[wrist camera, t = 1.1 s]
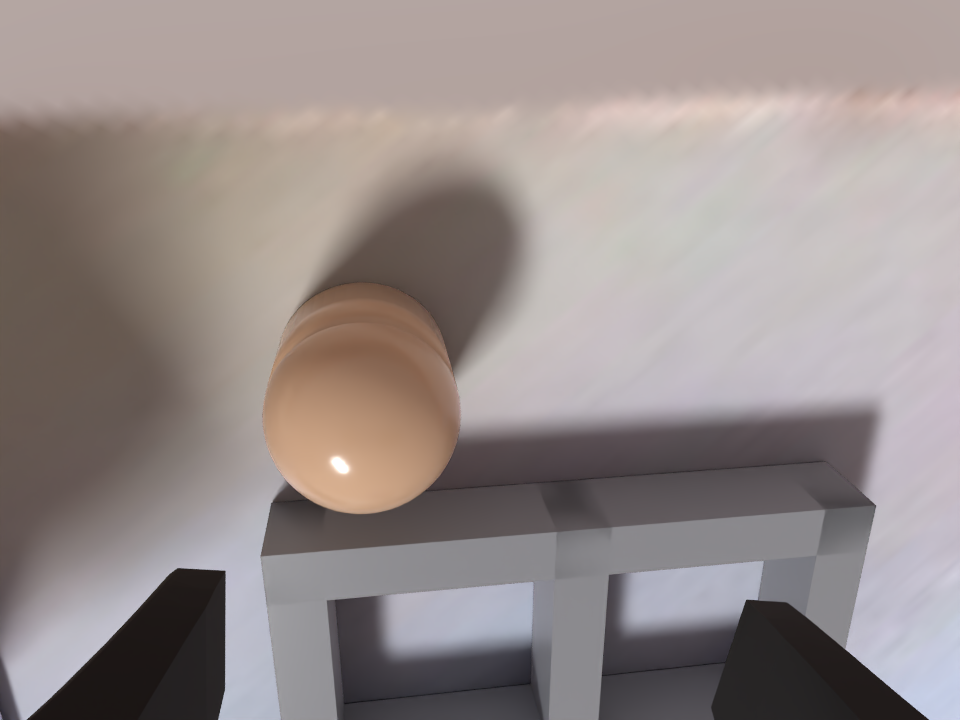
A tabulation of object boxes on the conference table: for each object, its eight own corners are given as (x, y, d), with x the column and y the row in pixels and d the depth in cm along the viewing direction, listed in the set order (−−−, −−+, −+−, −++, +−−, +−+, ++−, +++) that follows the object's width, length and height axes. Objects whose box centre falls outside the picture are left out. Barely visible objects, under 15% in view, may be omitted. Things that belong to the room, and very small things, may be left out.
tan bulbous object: (286, 442, 21) (261, 563, 16) (269, 285, 19) (237, 365, 14) (447, 432, 21) (473, 545, 17) (445, 278, 20) (472, 353, 15)
